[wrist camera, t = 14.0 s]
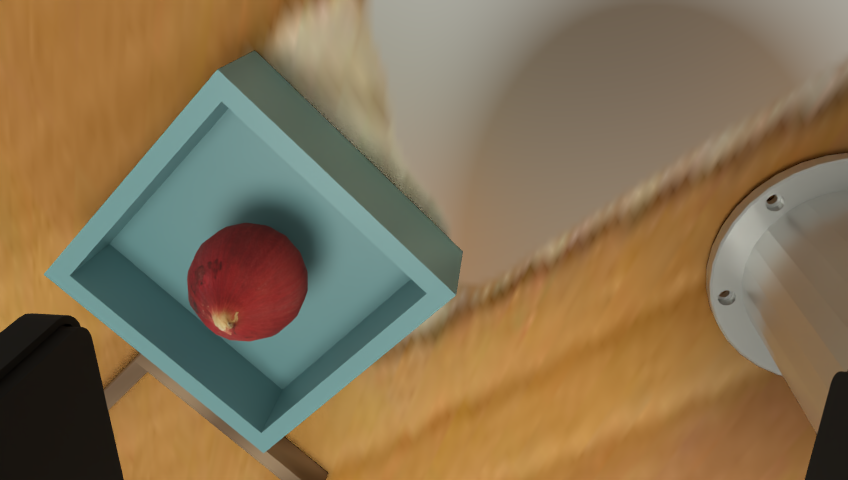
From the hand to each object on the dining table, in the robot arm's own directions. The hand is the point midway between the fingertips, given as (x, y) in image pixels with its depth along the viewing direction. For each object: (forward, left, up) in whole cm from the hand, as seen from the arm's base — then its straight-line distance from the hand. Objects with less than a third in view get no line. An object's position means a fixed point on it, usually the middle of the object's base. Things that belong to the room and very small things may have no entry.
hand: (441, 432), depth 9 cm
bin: (+1, +16, -28) cm, 33 cm away
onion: (+1, +16, -28) cm, 32 cm away
